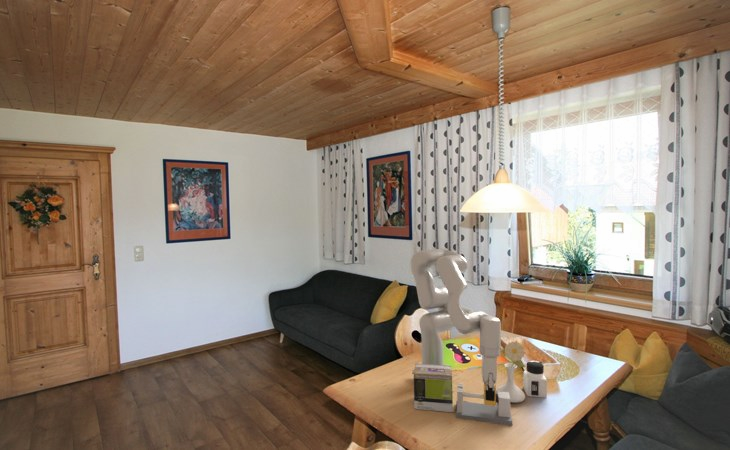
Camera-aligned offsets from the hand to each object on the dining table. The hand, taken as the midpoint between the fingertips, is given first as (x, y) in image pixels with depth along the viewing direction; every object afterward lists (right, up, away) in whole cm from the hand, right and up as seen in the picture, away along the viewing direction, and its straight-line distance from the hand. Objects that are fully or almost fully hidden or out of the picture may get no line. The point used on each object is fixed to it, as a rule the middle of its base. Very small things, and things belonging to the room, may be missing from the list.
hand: (489, 396), depth 142 cm
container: (+25, -6, +17) cm, 31 cm away
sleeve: (0, -2, 0) cm, 2 cm away
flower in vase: (+13, -7, +12) cm, 19 cm away
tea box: (-20, -7, +8) cm, 23 cm away
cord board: (-2, -7, +1) cm, 8 cm away
